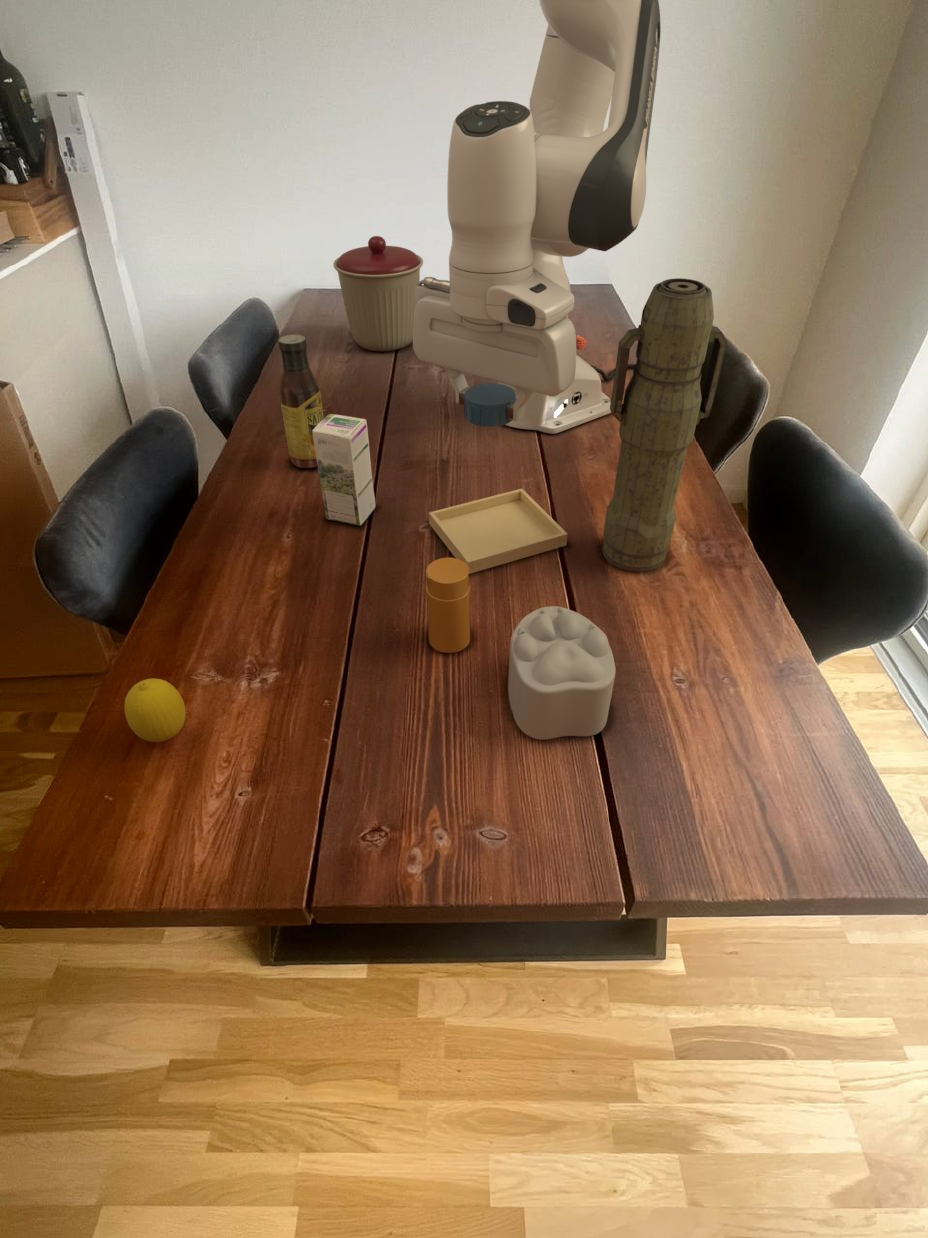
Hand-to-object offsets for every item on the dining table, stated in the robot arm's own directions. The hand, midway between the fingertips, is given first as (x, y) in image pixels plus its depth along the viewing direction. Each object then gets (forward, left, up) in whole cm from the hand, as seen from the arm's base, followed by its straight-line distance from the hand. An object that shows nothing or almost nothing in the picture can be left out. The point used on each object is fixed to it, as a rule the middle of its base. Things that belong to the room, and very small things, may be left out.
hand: (489, 411), depth 87 cm
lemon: (+45, +15, -21) cm, 52 cm away
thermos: (-18, +9, -21) cm, 29 cm away
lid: (0, 0, +2) cm, 2 cm away
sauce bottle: (+15, -35, -21) cm, 44 cm away
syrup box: (+14, -17, -21) cm, 30 cm away
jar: (+12, +14, -21) cm, 28 cm away
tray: (-3, -3, -21) cm, 21 cm away
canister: (-14, -78, -21) cm, 82 cm away
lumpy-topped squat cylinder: (+5, +27, -21) cm, 34 cm away
